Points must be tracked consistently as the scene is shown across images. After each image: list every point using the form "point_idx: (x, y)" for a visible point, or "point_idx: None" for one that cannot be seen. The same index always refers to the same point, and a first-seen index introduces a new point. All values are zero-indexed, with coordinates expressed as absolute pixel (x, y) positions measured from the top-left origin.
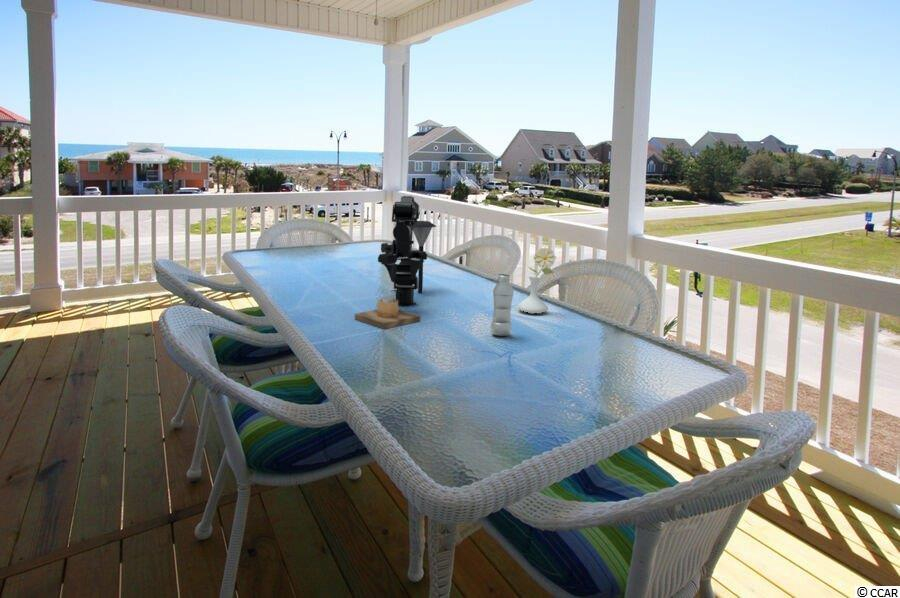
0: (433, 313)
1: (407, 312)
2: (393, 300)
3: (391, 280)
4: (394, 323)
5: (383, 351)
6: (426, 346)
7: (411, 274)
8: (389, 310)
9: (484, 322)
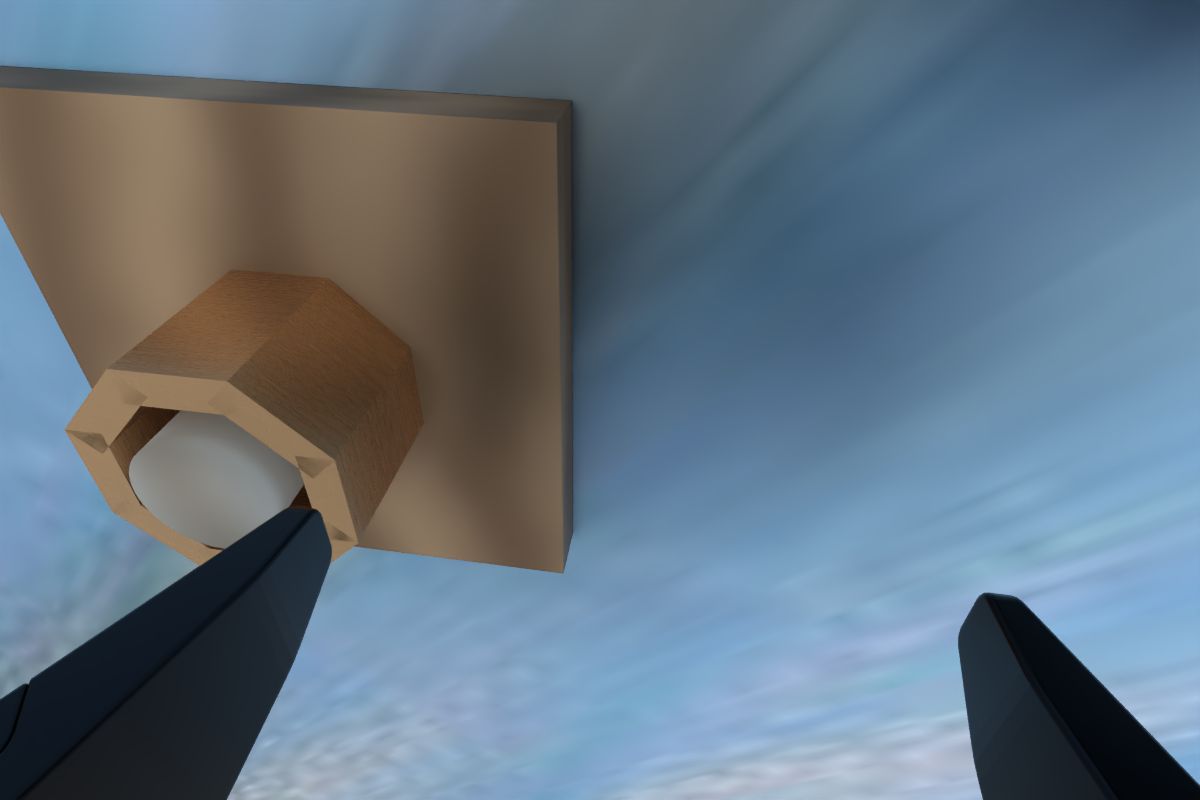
0: (917, 463)
1: (549, 444)
2: (314, 492)
3: (266, 537)
4: None
5: None
6: (287, 746)
7: (1022, 727)
8: None
9: (911, 776)
